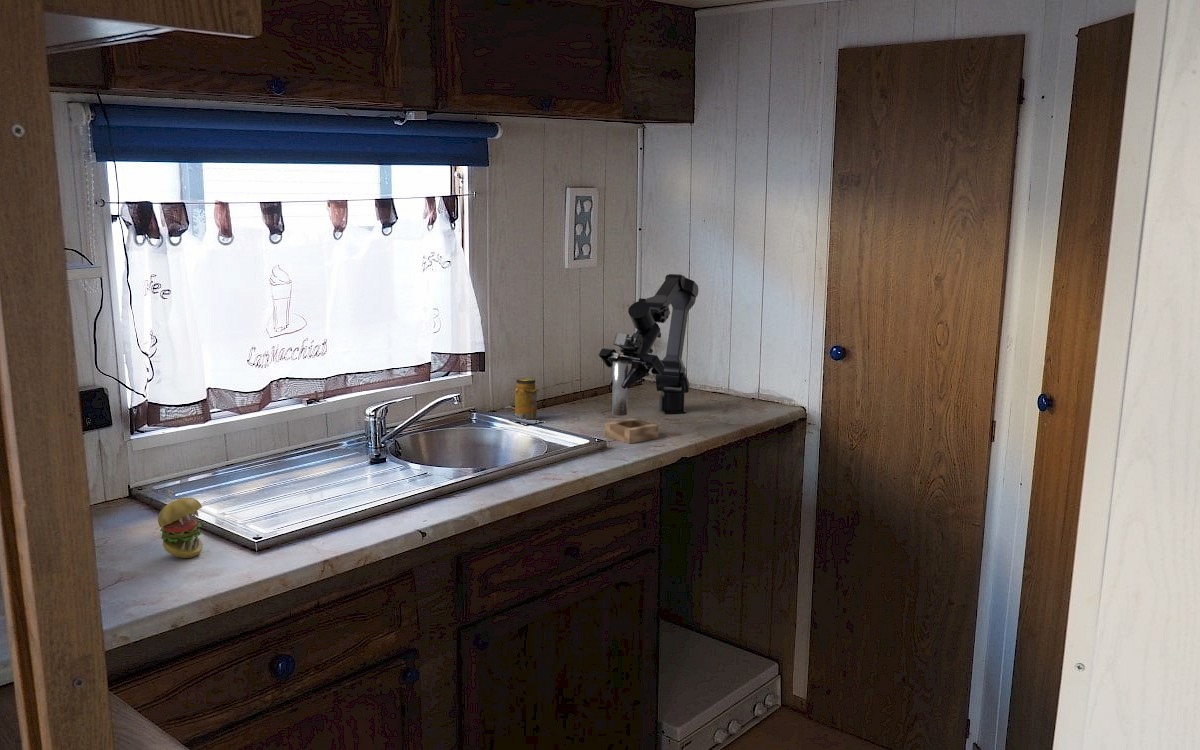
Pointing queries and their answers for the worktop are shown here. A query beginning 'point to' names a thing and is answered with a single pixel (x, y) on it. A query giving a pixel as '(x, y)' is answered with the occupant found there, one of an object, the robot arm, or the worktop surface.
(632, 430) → the socket
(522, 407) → the condiment
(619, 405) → the peg
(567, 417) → the worktop surface
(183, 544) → the hamburger
